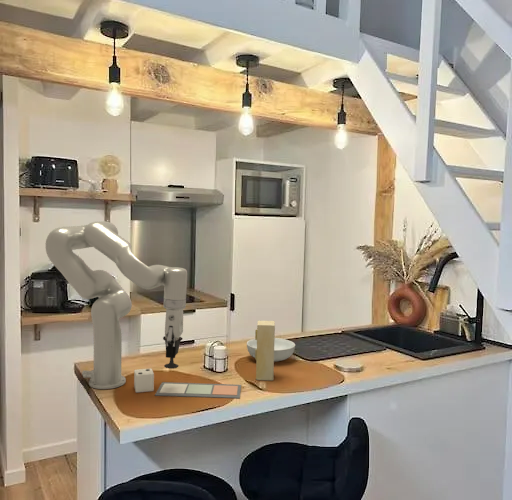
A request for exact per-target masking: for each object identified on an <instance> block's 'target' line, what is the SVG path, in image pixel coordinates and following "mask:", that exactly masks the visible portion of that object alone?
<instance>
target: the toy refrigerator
mask: <svg viewBox="0 0 512 500" xmlns="http://www.w3.org/2000/svg"><path fill="white" fill-rule="evenodd" d="M254 330H255V337H254V339H255V340H257V350H255V358H254V359H255V361H256V365H255V367H256V369H255V370H256V371H255V380H256V381H274V376H275V375H274V374H275V373H274V369H275V364H274V363H275V362H274V339H275V338H276V336H275V334H276V333H275V330H276V324H275V320H257V325H256V329H254Z"/></svg>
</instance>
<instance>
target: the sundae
mask: <svg viewBox="0 0 512 500" xmlns="http://www.w3.org/2000/svg"><path fill="white" fill-rule="evenodd" d="M172 337H174V336H172ZM162 340H163V341H165V342H164V344H165V347H166V346H167V338H166V337H165V335H164V336H163V337H162ZM172 340H174V339H172ZM181 341H183V337H182V336H180V337H179V338H177V337H176V341H175V346H176V354H175V356H177V355H178V353H179V350H180V349H179V348H180V343H181ZM164 368H166V369H177V368H179V364H177V363H175V362H174V358H169V363H166V364H164Z"/></svg>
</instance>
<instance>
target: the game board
mask: <svg viewBox="0 0 512 500" xmlns="http://www.w3.org/2000/svg"><path fill="white" fill-rule="evenodd" d="M241 390H242V384H233V383H232V384H230V383H225V384H224V383H199V382H197V383H196V382H173V381H171V382H166V381H162V382H161V384H160V385H159V387H158V389H157V390H156V392H155V394H154V396H155V397H181V398H182V397H183V398H185V397H186V398H187V397H188V398H189V397H190V398H211V399H212V398H215V399H216V398H217V399H240V398H241Z"/></svg>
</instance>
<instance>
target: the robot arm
mask: <svg viewBox="0 0 512 500" xmlns="http://www.w3.org/2000/svg"><path fill="white" fill-rule="evenodd" d="M87 248H88V249H89V248H94V249H95V250H97V251H98V252H100V253H101V254H102V255H104V256H105V257H107V258H108V259H109V260H111V261H112V262H113V263H114V264H115V265H116V267H117V269H118V270H119V271H120V273H121V274H122V275H123V276H124V277H125V278H126V279H128V280H129V281H130V282H132V283H133V284H135V286H138V287H139V288H141V289H144V290H153V289H155V288H159V287H161V286H164V287H163V288H164V289H163V290H164V291H163V307H162V308H164V309H165V322H164V336H165V337H166V338H167V346H166V345H165V358H168V359H170V358H173V359H175V358H176V355H177V354H176V346H175V341H176V337H177V338H179V337H182V335H183V333H184V310H185V309H186V306H187V305H186V304H187V289H188V287H187V286H188V285H187V283H188V271H187V269H186V268H183V267H180V266H179V267H178V266H177V267H176V266H172V267H171V266H167V265H162V264H153V265H149V266H148V265H147V264H146V263H144V262H142V261H141V260H140V259H138V258H137V257H136V256H135V255H134V254H133V251H132V244H131V243H130V241H128V240H127V239H125V238H124V237H122V236H121V235H119V231H118V227H117V226H116V225H115V224H114V223H112V222H110V221H104V220H103V221H93V222H89V223H88V224H86V225H85V224H84V225H75V226H61V227H60V226H59V227H57V228H55V229H52V230H51V231H50V232H49V233H48V235H47V237H46V239H45V252H46V255H47V257H48V259H49V261H50V262H51V264H53V266H54V267H55V268H56V269H57V270H58V271H59V272H60V273H61V274H62V276H63V277H64V279H65V280H66V281H67V282H68V283H69V284H70V286H71V287H72V289H74V291H75V292H76V293H77V294H78V295H79V296H80V297H81V298H82V299H84V300H90V299H91V300H92V299H94V298H97V299H96V300H95V301H94V302H93V304H92V306H91V310H90V314H91V322H92V327H93V328H92V329H93V331H92V332H93V333H92V334H93V369H92V370H82V372H81V374H82V377H83V378H84V379H87V378H88V379H89V380H88V385H89V387H91V388H94V389H97V390H98V389H99V390H107V389H108V390H110V389H116V388H119V387H122V386H123V385H125V384H126V381H127V379H126V377H125V376H124V375H122V350H123V349H122V345H123V344H122V340H123V339H122V336H123V335H122V334H123V333H122V328H121V323H120V319H122V318H124V317H125V316H127V315H128V314H130V312H131V310H132V306H133V305H132V304H133V303H132V300H131V298H130V296H129V293H127V291H125V289H124V288H123V286H122V285H121V284H120V283H119V282H118V281H117V280H116V279H115V277H114V276H113V275H112V274H110V273H109V272H108V271H107V270H106V271H105V270H103V269H95V270H92V269H91V268H90V267H89V266H88V264H87V263H86V262H85V261H84V259H82V258H81V257H80V256H79V255H77V254H76V253H75V252H74V251H75V250H81V249H83V250H84V249H87ZM172 336H174V337H172ZM172 339H174V340H172ZM175 354H176V355H175Z"/></svg>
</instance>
